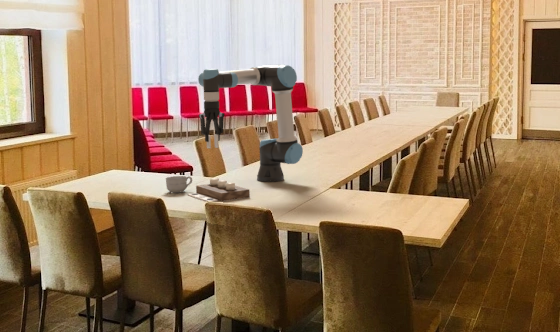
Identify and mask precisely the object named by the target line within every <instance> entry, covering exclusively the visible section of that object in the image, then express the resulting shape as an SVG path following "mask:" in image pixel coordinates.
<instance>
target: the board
mask: <svg viewBox="0 0 560 332" xmlns="http://www.w3.org/2000/svg"><path fill="white" fill-rule="evenodd" d="M195 187H196V188H195V189H196V190H195V191H196V192H195V193H198V194H201V195H204V196H208V197H211V198H214V199H217V200H218V201H219V202H226V201H234V200H240V199H247V198H250V197H251V196H250V195H251V194H250V192H251V191H250V189H249V188H245V187H241V186H237V185H235V190H226V187H225V188H218V185H215V186H213V185H210V183H206V184H199V185H196V186H195Z"/></svg>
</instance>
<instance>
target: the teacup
mask: <svg viewBox="0 0 560 332" xmlns="http://www.w3.org/2000/svg"><path fill="white" fill-rule="evenodd" d="M188 179H189V182H187V181H188ZM165 181H166V183H165V185H166V190H167V191H169V192H170V193H171V194H173V193H174V194H177V193H183V192H184V191H185V190H186V189H187V188H188V187H189V186H190V185H191V184H192V183H193V177H192V176H186V175H185V176H184V175H177V176H176V175H175V176H168V177H167V176H166V178H165Z"/></svg>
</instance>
